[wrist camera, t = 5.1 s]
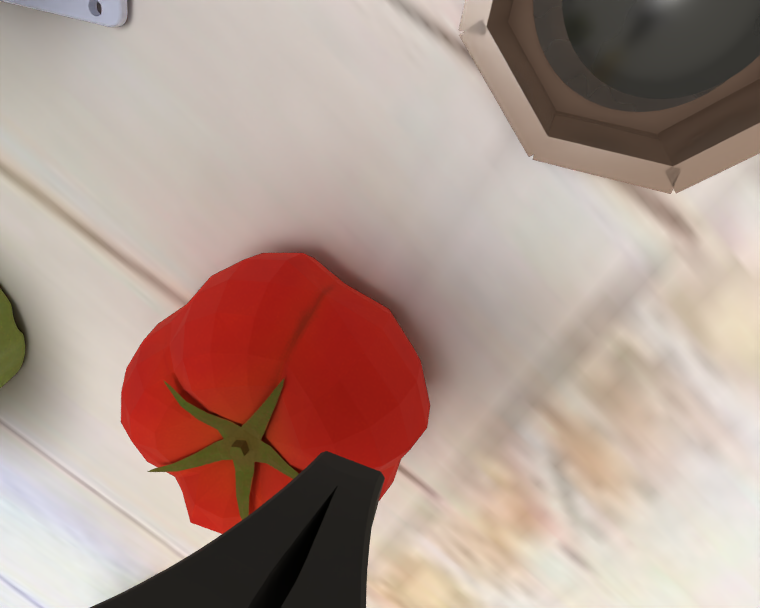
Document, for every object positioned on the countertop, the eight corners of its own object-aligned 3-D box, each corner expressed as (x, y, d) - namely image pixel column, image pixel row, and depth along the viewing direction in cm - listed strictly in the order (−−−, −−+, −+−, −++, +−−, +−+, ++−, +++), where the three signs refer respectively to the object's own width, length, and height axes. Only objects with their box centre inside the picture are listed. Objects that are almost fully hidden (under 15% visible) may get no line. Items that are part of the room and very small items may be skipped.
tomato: (157, 331, 27) (43, 418, 21) (322, 184, 21) (226, 248, 16) (301, 489, 28) (229, 607, 23) (490, 388, 23) (456, 513, 17)
